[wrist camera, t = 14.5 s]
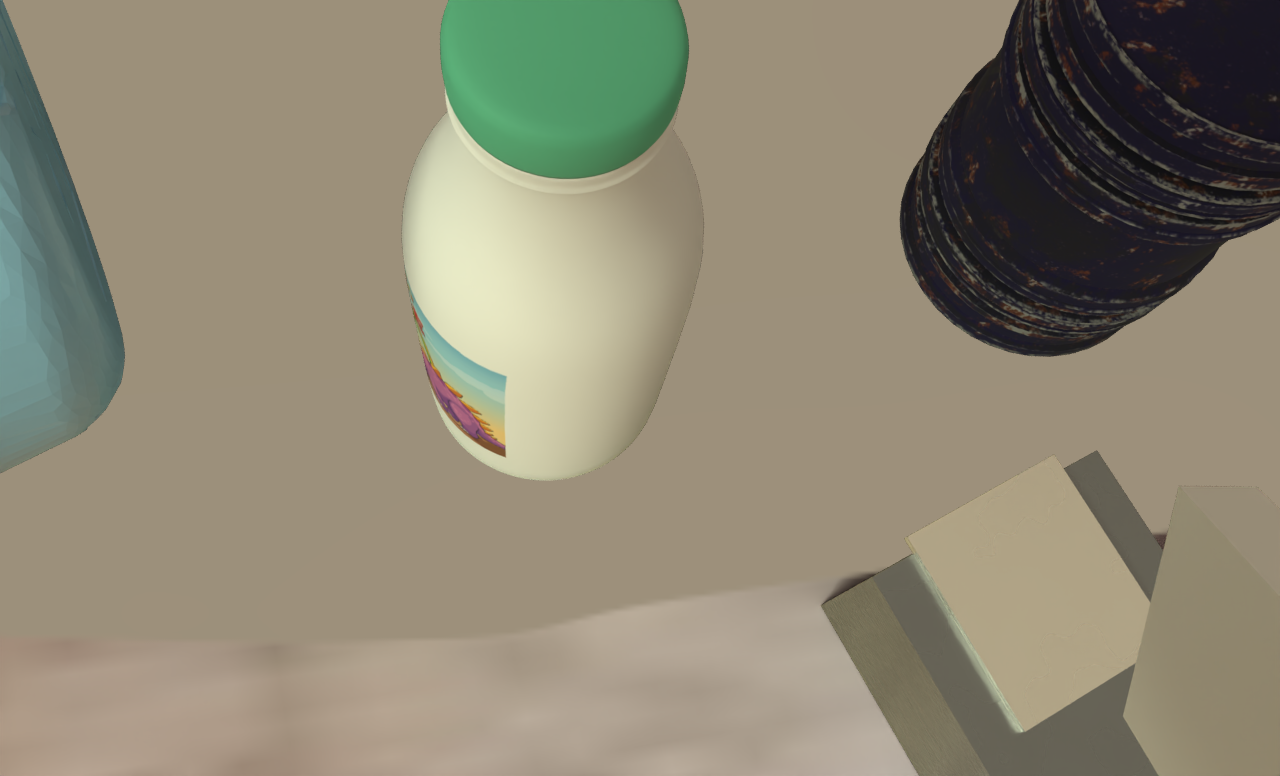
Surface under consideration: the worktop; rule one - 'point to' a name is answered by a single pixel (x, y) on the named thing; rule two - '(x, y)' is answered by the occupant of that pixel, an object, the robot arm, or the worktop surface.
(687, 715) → the worktop surface
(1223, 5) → the storage jar
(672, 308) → the milk bottle
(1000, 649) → the drawer cabinet
